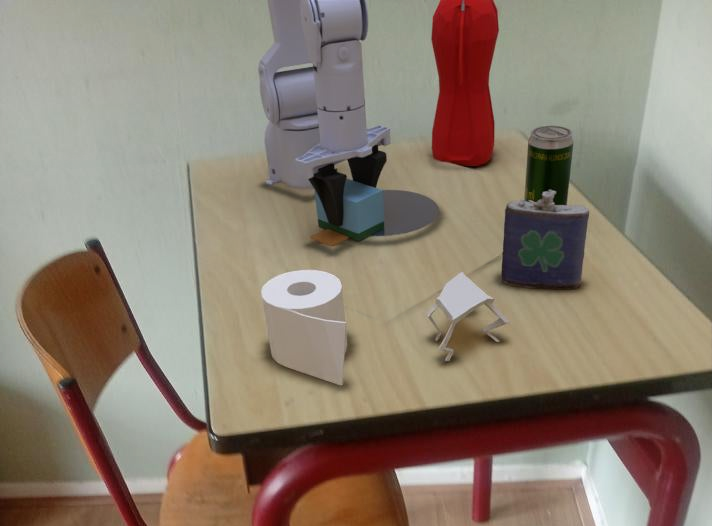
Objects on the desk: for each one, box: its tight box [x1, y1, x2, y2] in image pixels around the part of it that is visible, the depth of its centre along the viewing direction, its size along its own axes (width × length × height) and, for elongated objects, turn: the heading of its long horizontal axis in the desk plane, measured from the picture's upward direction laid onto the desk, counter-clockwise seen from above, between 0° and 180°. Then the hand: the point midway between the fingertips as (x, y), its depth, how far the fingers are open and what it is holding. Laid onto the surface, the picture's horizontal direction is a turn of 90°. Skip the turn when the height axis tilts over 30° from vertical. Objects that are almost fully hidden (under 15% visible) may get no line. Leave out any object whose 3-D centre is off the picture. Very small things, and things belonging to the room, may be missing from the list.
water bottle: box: [430, 0, 500, 167], centre depth 115 cm, size 9×11×25 cm
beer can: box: [523, 125, 575, 206], centre depth 100 cm, size 5×5×12 cm
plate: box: [369, 189, 440, 237], centre depth 109 cm, size 15×15×1 cm
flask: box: [501, 190, 590, 290], centre depth 90 cm, size 9×3×11 cm, turn 74°
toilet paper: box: [260, 269, 348, 387], centre depth 83 cm, size 8×11×7 cm
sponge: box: [314, 178, 384, 242], centre depth 103 cm, size 8×5×5 cm, turn 47°
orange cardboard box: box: [310, 229, 350, 247], centre depth 103 cm, size 4×3×1 cm
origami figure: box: [426, 271, 511, 362], centre depth 85 cm, size 12×8×5 cm
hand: (349, 217), depth 104 cm, fingers closed on sponge, 5 cm apart
